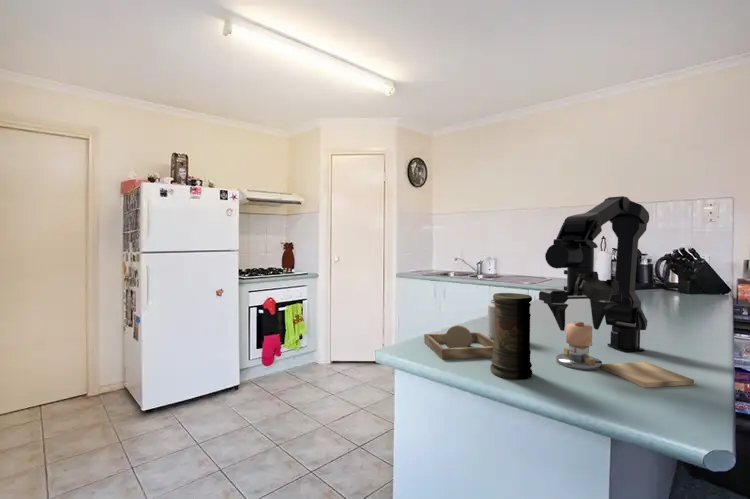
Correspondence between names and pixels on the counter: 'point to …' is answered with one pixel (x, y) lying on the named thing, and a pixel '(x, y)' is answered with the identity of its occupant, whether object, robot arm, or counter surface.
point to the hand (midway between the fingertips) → (579, 329)
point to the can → (491, 319)
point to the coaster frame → (464, 352)
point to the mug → (458, 337)
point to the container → (512, 336)
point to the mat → (647, 374)
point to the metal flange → (578, 358)
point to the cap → (579, 334)
